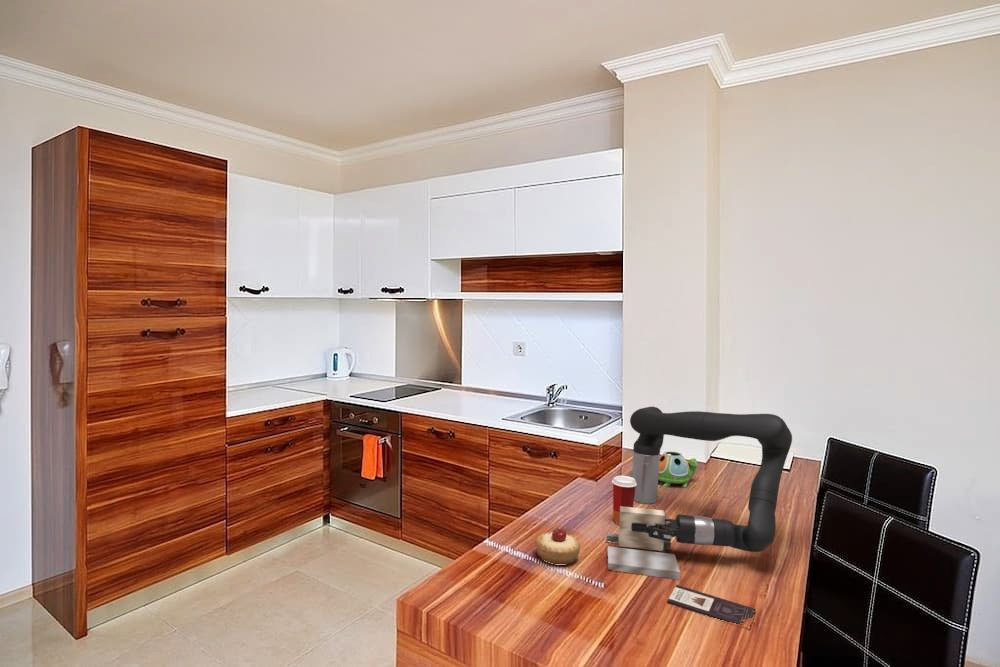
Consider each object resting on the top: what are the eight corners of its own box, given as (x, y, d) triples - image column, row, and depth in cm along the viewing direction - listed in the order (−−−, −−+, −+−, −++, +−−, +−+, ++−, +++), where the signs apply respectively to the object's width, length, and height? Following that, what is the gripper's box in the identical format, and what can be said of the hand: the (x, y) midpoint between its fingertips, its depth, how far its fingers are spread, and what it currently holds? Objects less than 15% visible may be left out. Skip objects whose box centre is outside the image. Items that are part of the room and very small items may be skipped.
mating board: (608, 570, 143) (608, 563, 143) (606, 539, 162) (607, 532, 162) (679, 579, 140) (680, 571, 140) (669, 546, 159) (670, 540, 159)
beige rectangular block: (619, 546, 154) (620, 511, 153) (618, 540, 158) (620, 506, 157) (663, 551, 152) (665, 515, 151) (661, 544, 156) (663, 510, 155)
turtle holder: (705, 487, 212) (708, 457, 211) (663, 489, 208) (665, 458, 207) (688, 477, 224) (690, 448, 223) (647, 478, 220) (649, 449, 219)
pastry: (587, 560, 149) (590, 529, 149) (559, 573, 141) (563, 540, 140) (553, 543, 158) (556, 514, 157) (525, 555, 150) (528, 523, 149)
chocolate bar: (750, 628, 119) (667, 601, 129) (750, 632, 120) (666, 604, 129) (755, 608, 127) (676, 584, 137) (755, 612, 127) (676, 588, 137)
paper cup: (636, 520, 177) (639, 477, 176) (631, 528, 170) (634, 484, 169) (612, 515, 181) (615, 473, 180) (606, 523, 174) (609, 480, 173)
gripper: (690, 507, 159) (630, 501, 162) (700, 527, 145) (633, 520, 148) (689, 532, 159) (628, 526, 162) (698, 554, 145) (632, 547, 148)
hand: (631, 523), depth 155 cm, fingers closed on beige rectangular block, 4 cm apart
